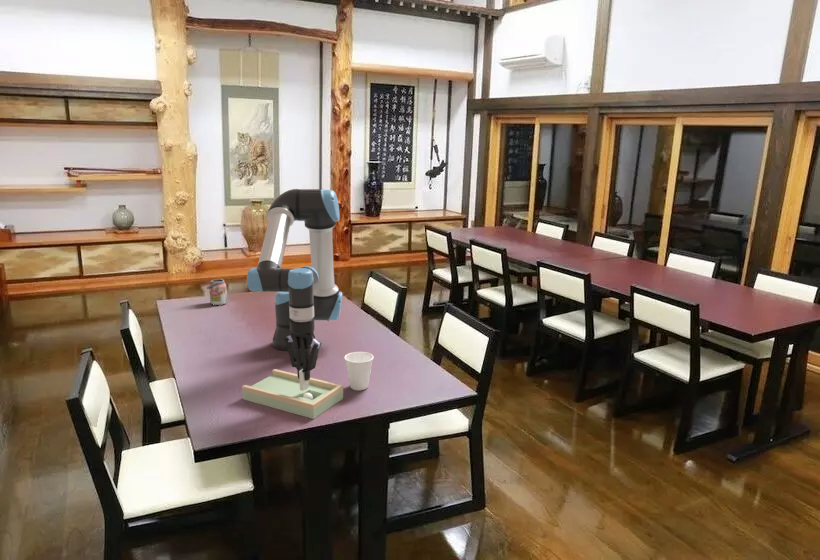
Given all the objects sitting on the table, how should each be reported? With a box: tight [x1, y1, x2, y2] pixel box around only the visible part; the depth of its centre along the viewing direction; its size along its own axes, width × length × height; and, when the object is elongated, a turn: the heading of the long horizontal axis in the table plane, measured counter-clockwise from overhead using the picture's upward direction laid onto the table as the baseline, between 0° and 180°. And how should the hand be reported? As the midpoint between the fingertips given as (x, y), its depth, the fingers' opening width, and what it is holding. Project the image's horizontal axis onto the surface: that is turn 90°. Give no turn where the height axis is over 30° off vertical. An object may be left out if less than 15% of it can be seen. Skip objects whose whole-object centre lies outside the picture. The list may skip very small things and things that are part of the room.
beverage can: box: [206, 278, 228, 306], centre depth 289 cm, size 9×8×12 cm
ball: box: [302, 393, 313, 400], centre depth 185 cm, size 4×4×4 cm
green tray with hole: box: [242, 368, 344, 419], centre depth 188 cm, size 28×16×5 cm, turn 63°
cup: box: [343, 351, 375, 391], centre depth 196 cm, size 10×10×11 cm
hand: (304, 388), depth 185 cm, fingers closed
